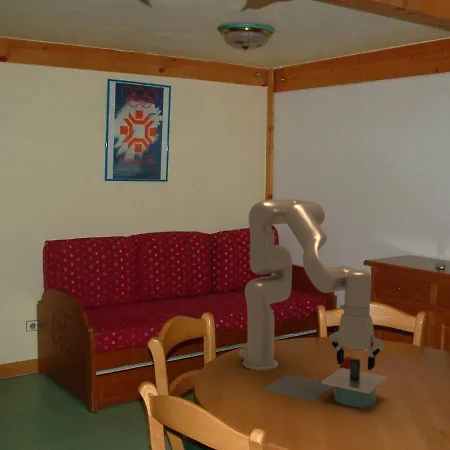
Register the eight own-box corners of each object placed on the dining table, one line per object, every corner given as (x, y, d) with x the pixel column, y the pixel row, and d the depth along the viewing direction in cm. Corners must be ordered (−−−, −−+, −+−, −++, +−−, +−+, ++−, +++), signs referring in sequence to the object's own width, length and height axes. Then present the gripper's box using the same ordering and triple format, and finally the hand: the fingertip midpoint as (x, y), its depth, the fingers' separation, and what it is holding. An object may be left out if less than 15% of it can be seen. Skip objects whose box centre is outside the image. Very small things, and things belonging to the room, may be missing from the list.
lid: (321, 383, 197) (322, 361, 196) (341, 370, 209) (342, 349, 209) (369, 393, 189) (369, 370, 188) (387, 379, 201) (387, 357, 201)
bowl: (328, 402, 198) (328, 383, 197) (344, 390, 208) (344, 372, 207) (365, 410, 191) (366, 391, 191) (380, 398, 201) (380, 379, 201)
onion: (357, 380, 218) (357, 357, 217) (339, 379, 219) (340, 356, 218) (357, 375, 223) (357, 352, 222) (340, 373, 224) (340, 351, 224)
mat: (260, 390, 208) (260, 389, 208) (287, 375, 223) (287, 374, 223) (311, 402, 198) (311, 401, 198) (336, 385, 213) (336, 384, 213)
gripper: (325, 309, 199) (324, 364, 200) (380, 317, 189) (378, 374, 191) (335, 305, 205) (334, 358, 207) (389, 312, 195) (387, 368, 197)
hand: (355, 366), depth 199 cm, fingers open, 9 cm apart
